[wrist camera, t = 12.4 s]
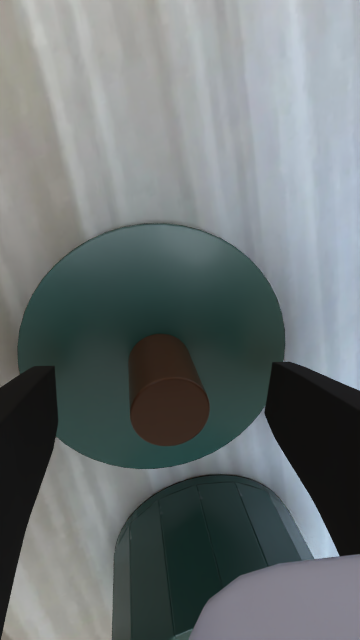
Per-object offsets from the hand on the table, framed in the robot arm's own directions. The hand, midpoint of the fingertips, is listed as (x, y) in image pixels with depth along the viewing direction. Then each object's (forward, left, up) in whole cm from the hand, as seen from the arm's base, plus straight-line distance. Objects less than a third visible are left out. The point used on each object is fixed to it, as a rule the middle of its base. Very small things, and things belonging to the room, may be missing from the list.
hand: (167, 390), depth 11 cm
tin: (+3, -12, -3) cm, 12 cm away
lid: (0, 0, -3) cm, 3 cm away
